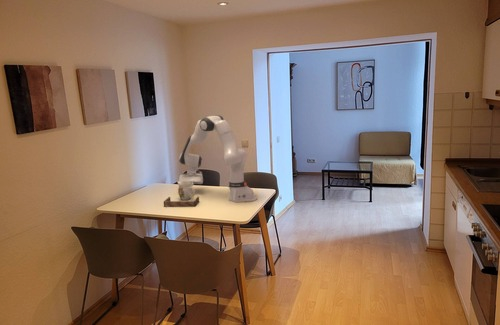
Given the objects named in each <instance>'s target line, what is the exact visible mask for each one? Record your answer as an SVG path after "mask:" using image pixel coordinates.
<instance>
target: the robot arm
mask: <svg viewBox="0 0 500 325" xmlns="http://www.w3.org/2000/svg"><path fill="white" fill-rule="evenodd" d="M194 128H195V129H194V132H193V134H191V135H189V136H188V138H187V140H186V142H185V145H184V147H183V149H182V151H181V153H180V155H179V158H178V161H179V163H180V164H181V165H184V166H185V165H187V170H186V173H181V174H179V178H178V181H187V182H191V187H194V185H202V184H203V182H204V178H203V172H202V171H200V170H199V168H200V167H201V166H202V160H203V159H202V157H201V155H199V154H195V153H189V150H190V147H191V146H193V145H199V144H203V143H204V142H206V141H207V139H208V136H209V132H213V131H215V132H216V133H217V136H218V138H219V139H220V140H219V141H220V142H221V145H222V149H223V154H224V156H223V161H224V164H225V165H226V166H230V169H229V171H228V172H229V173H228V175H229V176H228V177H229V181H228V188H229V192H228V194H229V195H228V201H231V202H234V203H239V202H240V203H241V202H242V203H243V202H245V201H247V202H255V201H257V200H258V196H257V195H255V193H254V192H255V191H254V190H253V189H252V188H251V187H249V186H248V185H247V181H245V180H244V179H245V178H244V176H245V175H244V170H245V162H246V159H247V157H248V154H247V151H246V150H245V149H243V148H237V144H236V143H237V140H236V137H235V135H234V132H233V130H232V128H231V126H230V124H229V123H228V121H227V120H225V119H224V117H223V116H221V115H219V114H217V115H209V116H206V117H204V118H203V117H202V119H199V120H198V121H197V123H196V124H195V127H194ZM245 203H246V202H245Z"/></svg>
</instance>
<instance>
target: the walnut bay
mask: <svg viewBox="0 0 500 325" xmlns="http://www.w3.org/2000/svg"><path fill="white" fill-rule="evenodd" d="M199 203H200V197H199V196H197V197H196V198H195V199H194V200H191V201H190V200H177V201H175V200H173V201H172V200H171V196H168V197H167V198H166V199H164V200H163V208H183V207H184V208H187V207H188V208H189V207H190V208H193V207H194V208H195V207H196V206H197V205H198V204H199Z"/></svg>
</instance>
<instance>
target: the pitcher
mask: <svg viewBox="0 0 500 325" xmlns="http://www.w3.org/2000/svg"><path fill="white" fill-rule="evenodd" d="M176 183H177V185H178V188H177V191H178V192H177V193H178V196H179V198H180V200H181V201H190V200H191V198H193V197H194V196H195V194H196V190H195V188H194V186H192V187H191V182H187V181H179V180H178V181H176Z"/></svg>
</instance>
